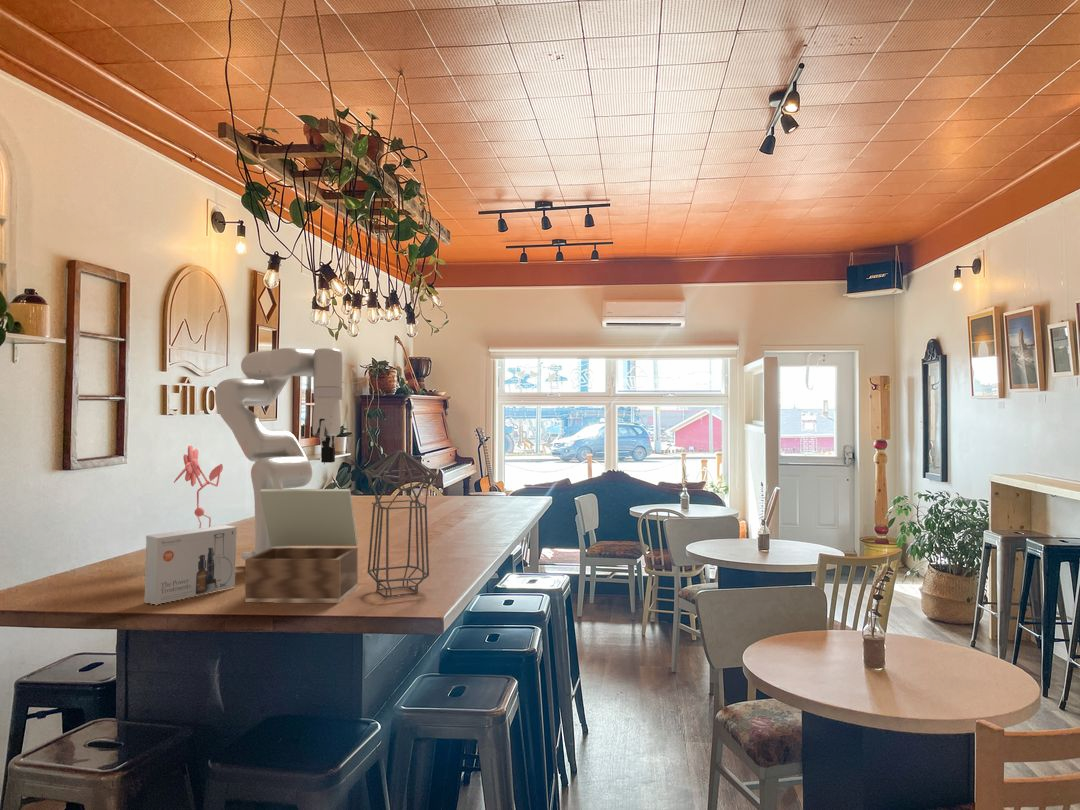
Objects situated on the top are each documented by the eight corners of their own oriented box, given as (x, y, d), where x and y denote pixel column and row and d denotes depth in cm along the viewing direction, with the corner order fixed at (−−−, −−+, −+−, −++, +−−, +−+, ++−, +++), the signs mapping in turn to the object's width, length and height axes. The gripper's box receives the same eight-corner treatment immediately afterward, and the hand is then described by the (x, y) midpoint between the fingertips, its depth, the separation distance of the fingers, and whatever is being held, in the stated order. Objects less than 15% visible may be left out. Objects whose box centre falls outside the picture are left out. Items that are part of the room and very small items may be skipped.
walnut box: (245, 602, 173) (245, 559, 173) (271, 586, 189) (271, 547, 189) (339, 602, 172) (339, 559, 172) (357, 587, 188) (357, 547, 188)
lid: (259, 491, 181) (261, 489, 182) (270, 545, 188) (271, 543, 189) (349, 491, 181) (350, 489, 182) (356, 545, 187) (357, 543, 188)
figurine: (230, 552, 237) (228, 443, 238) (201, 569, 212) (198, 446, 212) (180, 554, 236) (178, 444, 236) (145, 571, 210) (142, 448, 210)
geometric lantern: (418, 582, 193) (420, 448, 193) (438, 597, 179) (441, 452, 179) (357, 588, 186) (360, 449, 186) (373, 604, 172) (376, 453, 172)
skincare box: (156, 606, 170) (156, 537, 170) (143, 603, 173) (143, 535, 173) (237, 588, 188) (237, 525, 188) (224, 586, 190) (224, 524, 191)
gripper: (323, 395, 208) (323, 460, 207) (304, 393, 193) (304, 464, 192) (349, 395, 208) (349, 460, 207) (333, 393, 193) (333, 464, 192)
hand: (328, 462), depth 200 cm, fingers closed
